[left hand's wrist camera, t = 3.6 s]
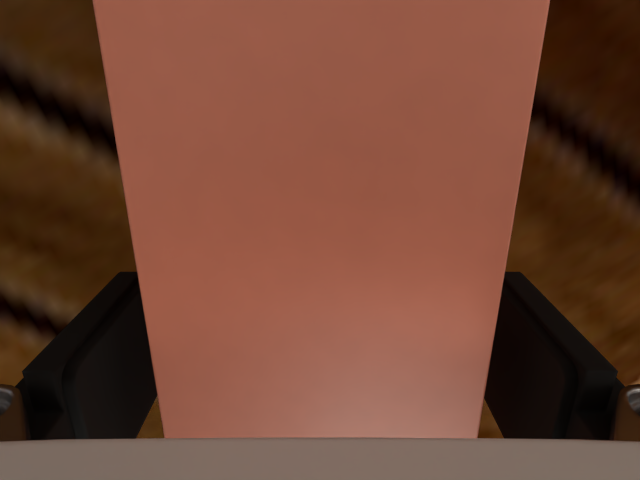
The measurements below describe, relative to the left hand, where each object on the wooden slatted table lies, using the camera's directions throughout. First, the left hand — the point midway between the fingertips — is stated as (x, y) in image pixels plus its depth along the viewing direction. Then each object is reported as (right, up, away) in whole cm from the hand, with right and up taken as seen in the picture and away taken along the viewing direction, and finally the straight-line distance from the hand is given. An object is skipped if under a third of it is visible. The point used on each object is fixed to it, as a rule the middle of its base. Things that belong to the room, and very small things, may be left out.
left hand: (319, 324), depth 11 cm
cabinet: (0, +8, +4) cm, 8 cm away
